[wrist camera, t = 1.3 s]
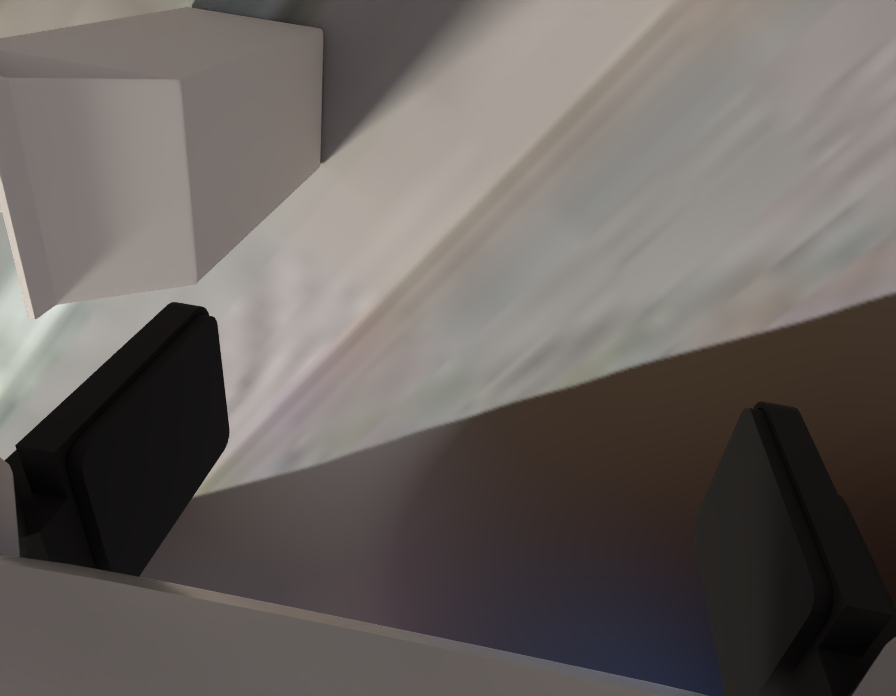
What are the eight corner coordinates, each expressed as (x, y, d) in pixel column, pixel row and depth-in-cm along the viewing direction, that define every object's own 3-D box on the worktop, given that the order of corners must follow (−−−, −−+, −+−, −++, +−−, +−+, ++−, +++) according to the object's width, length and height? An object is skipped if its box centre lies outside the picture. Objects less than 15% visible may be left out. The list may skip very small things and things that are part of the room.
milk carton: (324, 27, 33) (105, 106, 17) (321, 167, 37) (139, 340, 21) (188, 5, 33) (-154, 62, 17) (198, 146, 37) (-74, 299, 21)
